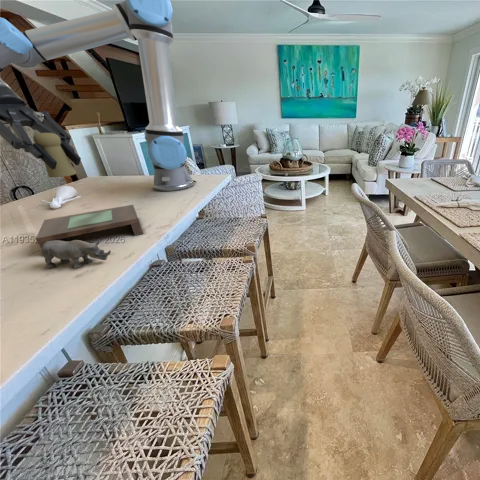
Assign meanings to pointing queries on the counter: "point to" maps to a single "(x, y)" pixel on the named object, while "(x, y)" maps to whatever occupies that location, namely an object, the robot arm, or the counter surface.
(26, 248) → the counter surface
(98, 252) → the rhino figurine
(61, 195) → the woman figurine
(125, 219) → the shelf
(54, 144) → the cork
